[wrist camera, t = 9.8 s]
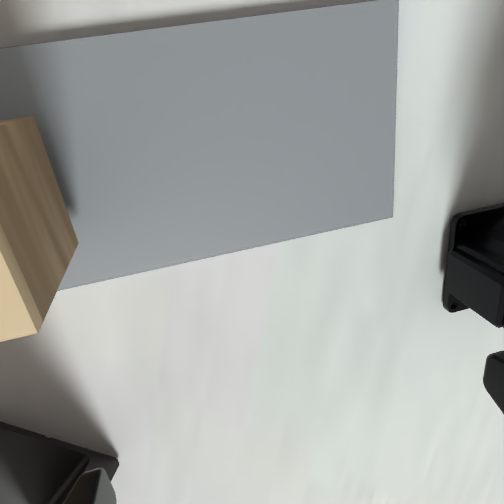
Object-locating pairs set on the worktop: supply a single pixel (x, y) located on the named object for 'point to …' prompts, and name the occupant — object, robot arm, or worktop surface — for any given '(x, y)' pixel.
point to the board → (213, 132)
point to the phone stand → (43, 466)
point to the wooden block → (29, 230)
